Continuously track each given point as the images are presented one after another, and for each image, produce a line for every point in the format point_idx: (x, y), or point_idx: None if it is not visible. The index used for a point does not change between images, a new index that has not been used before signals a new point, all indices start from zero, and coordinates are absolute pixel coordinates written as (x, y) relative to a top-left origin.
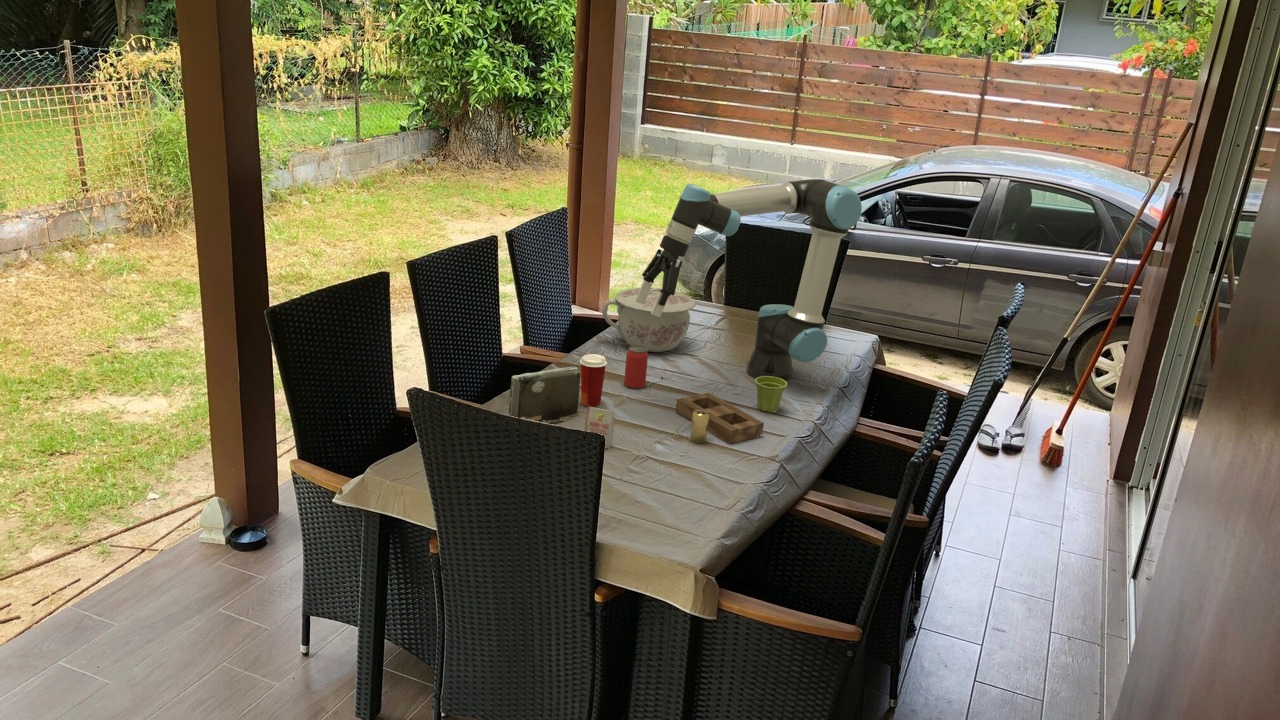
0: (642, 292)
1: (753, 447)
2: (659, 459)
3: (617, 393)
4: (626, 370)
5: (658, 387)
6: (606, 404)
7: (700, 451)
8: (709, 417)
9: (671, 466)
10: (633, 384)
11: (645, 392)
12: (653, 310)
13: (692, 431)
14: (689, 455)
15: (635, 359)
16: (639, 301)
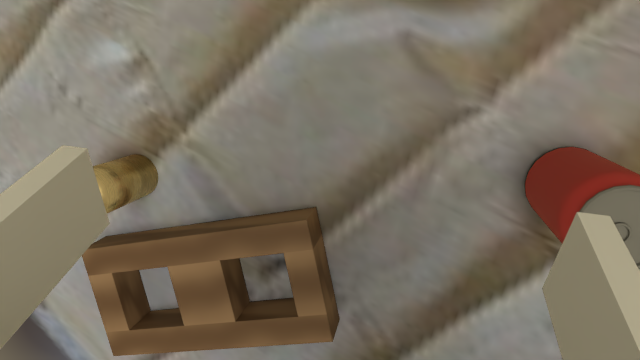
0: (608, 345)
1: (84, 280)
2: (50, 19)
3: (513, 91)
4: (588, 157)
5: (516, 252)
6: (431, 12)
7: (79, 146)
8: (163, 242)
9: (13, 33)
10: (536, 166)
11: (489, 190)
12: (34, 171)
13: (117, 159)
14: (62, 108)
15: (567, 190)
16: (565, 256)
